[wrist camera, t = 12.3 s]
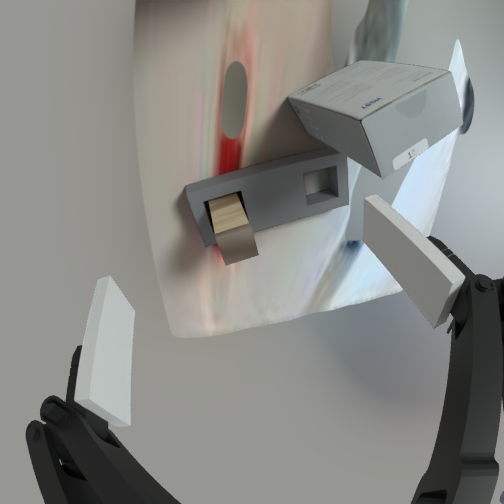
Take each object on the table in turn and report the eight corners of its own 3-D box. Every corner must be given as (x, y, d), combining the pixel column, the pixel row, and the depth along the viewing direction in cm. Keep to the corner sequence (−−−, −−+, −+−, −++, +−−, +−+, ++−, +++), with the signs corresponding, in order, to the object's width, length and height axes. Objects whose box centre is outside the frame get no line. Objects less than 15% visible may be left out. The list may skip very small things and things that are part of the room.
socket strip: (185, 185, 43) (186, 195, 40) (336, 145, 44) (347, 152, 41) (203, 235, 49) (205, 247, 46) (339, 196, 50) (349, 204, 48)
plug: (206, 195, 45) (215, 238, 35) (233, 186, 45) (251, 226, 35) (214, 218, 48) (225, 265, 38) (240, 210, 48) (258, 255, 38)
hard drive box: (308, 136, 42) (380, 182, 27) (285, 96, 38) (356, 119, 22) (377, 96, 40) (465, 125, 24) (361, 58, 35) (452, 68, 20)
